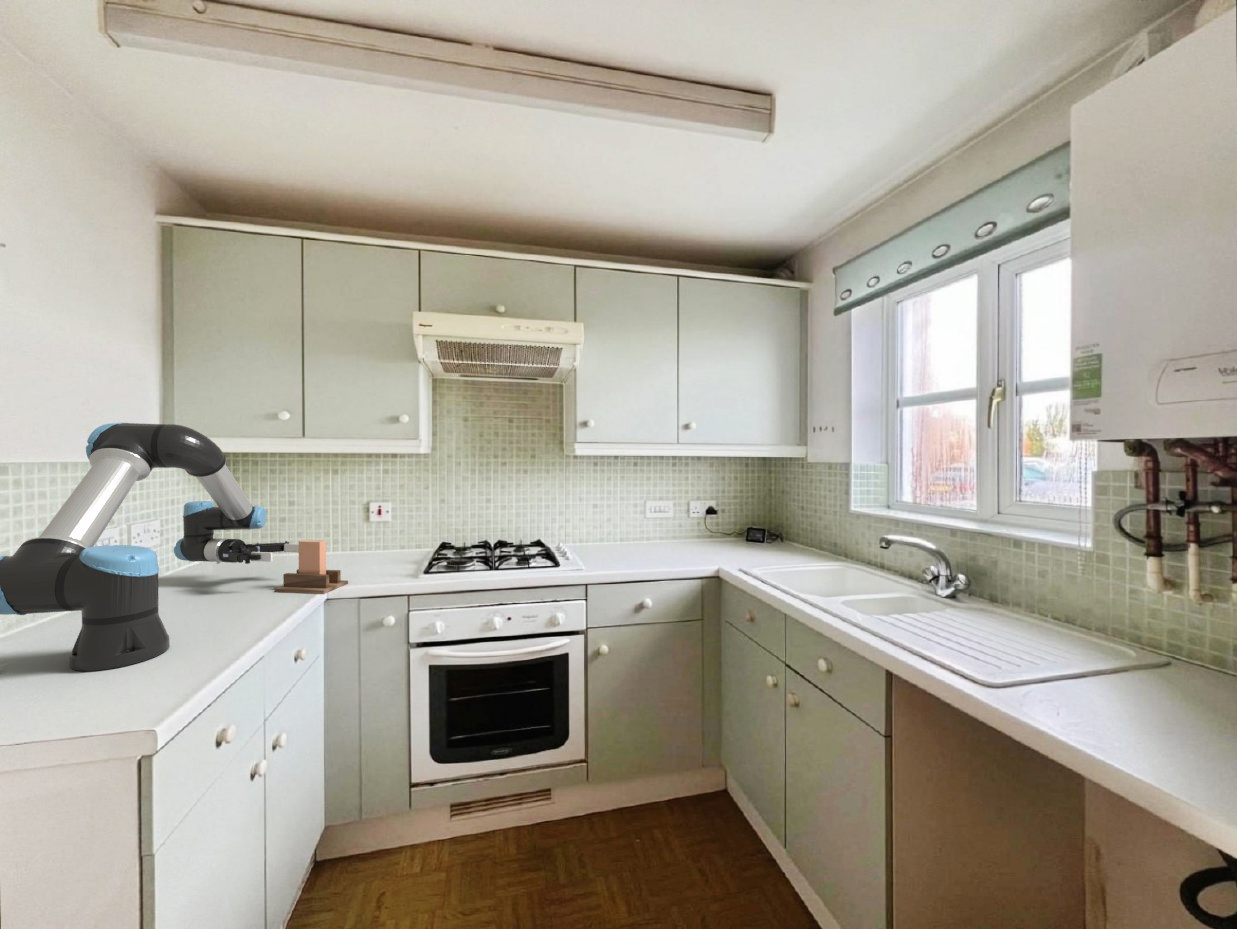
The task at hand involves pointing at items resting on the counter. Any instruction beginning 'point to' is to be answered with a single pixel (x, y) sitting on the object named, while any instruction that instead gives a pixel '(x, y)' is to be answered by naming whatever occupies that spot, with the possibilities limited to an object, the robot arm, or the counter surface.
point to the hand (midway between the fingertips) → (288, 552)
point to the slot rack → (312, 582)
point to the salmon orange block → (312, 557)
